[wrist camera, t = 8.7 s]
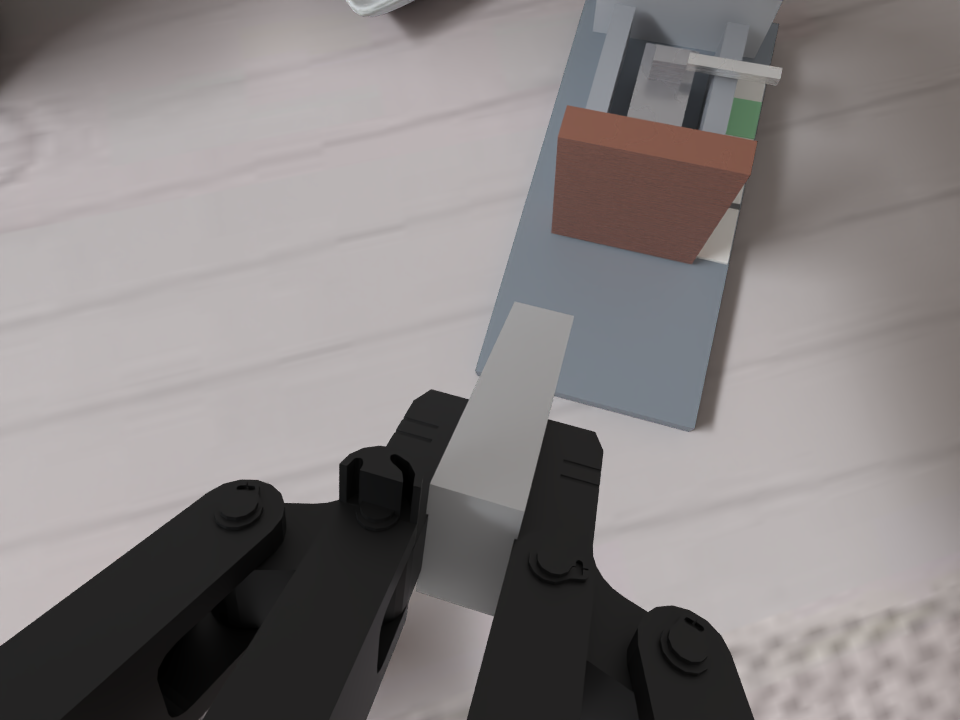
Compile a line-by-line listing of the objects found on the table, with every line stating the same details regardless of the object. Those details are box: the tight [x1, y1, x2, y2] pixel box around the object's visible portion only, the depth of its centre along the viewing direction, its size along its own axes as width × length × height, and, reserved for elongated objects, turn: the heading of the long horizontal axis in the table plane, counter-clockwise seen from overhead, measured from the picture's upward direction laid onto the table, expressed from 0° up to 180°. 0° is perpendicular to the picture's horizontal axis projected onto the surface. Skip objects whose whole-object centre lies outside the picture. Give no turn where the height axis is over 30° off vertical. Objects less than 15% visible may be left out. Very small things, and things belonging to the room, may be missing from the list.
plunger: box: [551, 43, 783, 264], centre depth 30 cm, size 12×10×9 cm
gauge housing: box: [475, 0, 783, 432], centre depth 31 cm, size 26×12×9 cm, turn 164°
